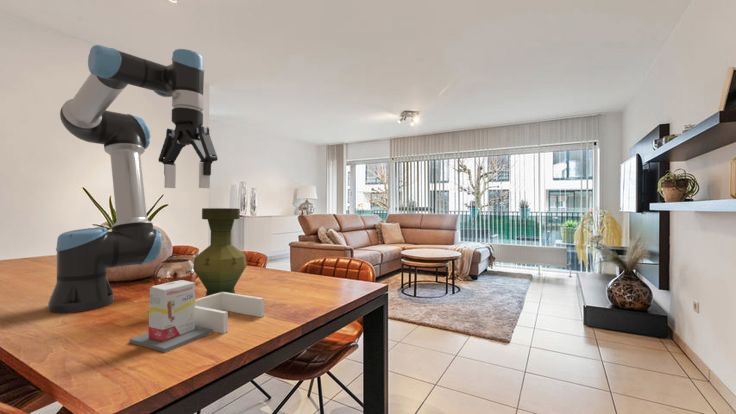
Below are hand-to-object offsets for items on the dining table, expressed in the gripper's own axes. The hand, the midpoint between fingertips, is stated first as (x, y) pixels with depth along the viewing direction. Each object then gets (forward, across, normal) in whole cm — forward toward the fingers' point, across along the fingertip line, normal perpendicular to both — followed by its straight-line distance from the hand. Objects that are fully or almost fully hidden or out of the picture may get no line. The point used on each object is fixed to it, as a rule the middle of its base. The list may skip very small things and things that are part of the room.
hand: (186, 188), depth 91 cm
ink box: (+35, +9, -10) cm, 38 cm away
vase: (+36, -6, +18) cm, 41 cm away
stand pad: (+36, +9, -10) cm, 38 cm away
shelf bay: (+36, +10, +4) cm, 37 cm away
